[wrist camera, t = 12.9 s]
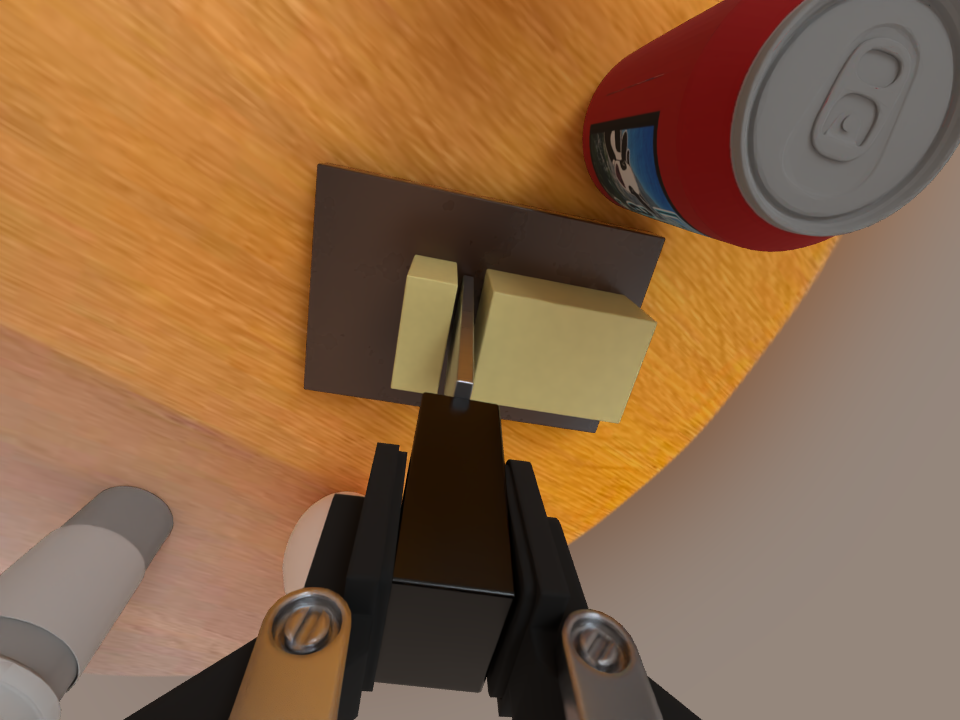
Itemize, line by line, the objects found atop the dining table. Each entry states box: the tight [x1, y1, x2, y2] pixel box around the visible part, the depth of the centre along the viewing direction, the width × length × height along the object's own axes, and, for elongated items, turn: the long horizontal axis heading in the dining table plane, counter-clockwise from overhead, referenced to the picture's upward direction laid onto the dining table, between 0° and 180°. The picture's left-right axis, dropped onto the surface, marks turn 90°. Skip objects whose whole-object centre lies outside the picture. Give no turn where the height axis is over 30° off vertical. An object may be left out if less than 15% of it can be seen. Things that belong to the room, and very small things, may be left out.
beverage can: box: [582, 0, 960, 252], centre depth 16 cm, size 7×7×12 cm
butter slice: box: [391, 255, 458, 394], centre depth 21 cm, size 2×5×4 cm, turn 168°
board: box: [304, 163, 665, 433], centre depth 23 cm, size 16×11×2 cm
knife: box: [374, 275, 517, 693], centre depth 15 cm, size 2×4×16 cm, turn 168°
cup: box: [0, 486, 173, 720], centre depth 23 cm, size 7×7×12 cm
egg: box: [282, 491, 365, 595], centre depth 25 cm, size 6×6×8 cm
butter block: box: [470, 269, 657, 423], centre depth 21 cm, size 7×5×4 cm
